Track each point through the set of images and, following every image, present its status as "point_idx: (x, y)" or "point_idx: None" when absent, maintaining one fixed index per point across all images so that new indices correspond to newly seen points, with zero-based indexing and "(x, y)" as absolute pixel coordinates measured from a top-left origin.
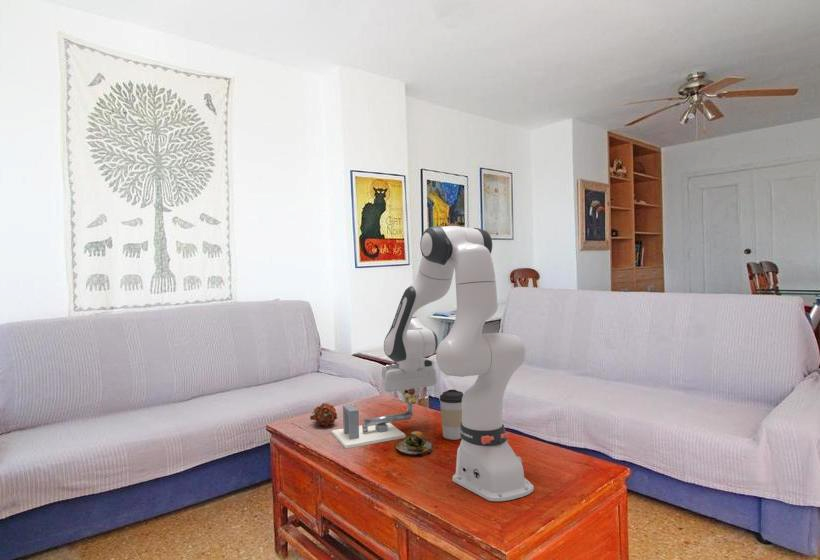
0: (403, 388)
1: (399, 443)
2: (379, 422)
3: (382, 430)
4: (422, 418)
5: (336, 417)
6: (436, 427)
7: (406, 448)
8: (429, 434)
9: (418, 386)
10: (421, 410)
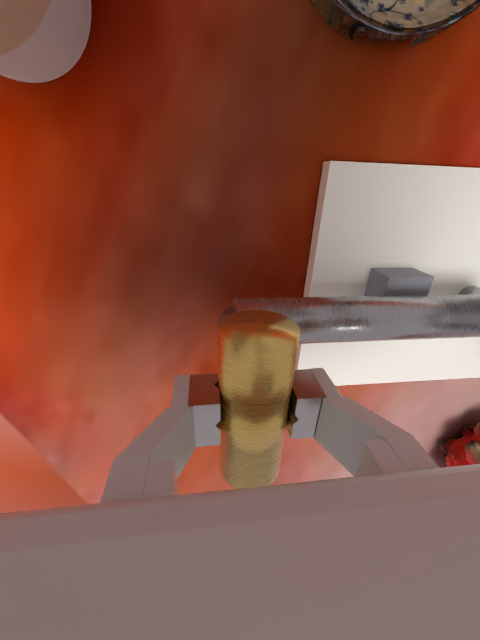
0: (463, 489)
1: (460, 5)
2: (441, 295)
3: (403, 270)
4: (116, 384)
5: (478, 444)
6: (84, 233)
7: None
8: (171, 134)
9: (143, 524)
10: (86, 465)
